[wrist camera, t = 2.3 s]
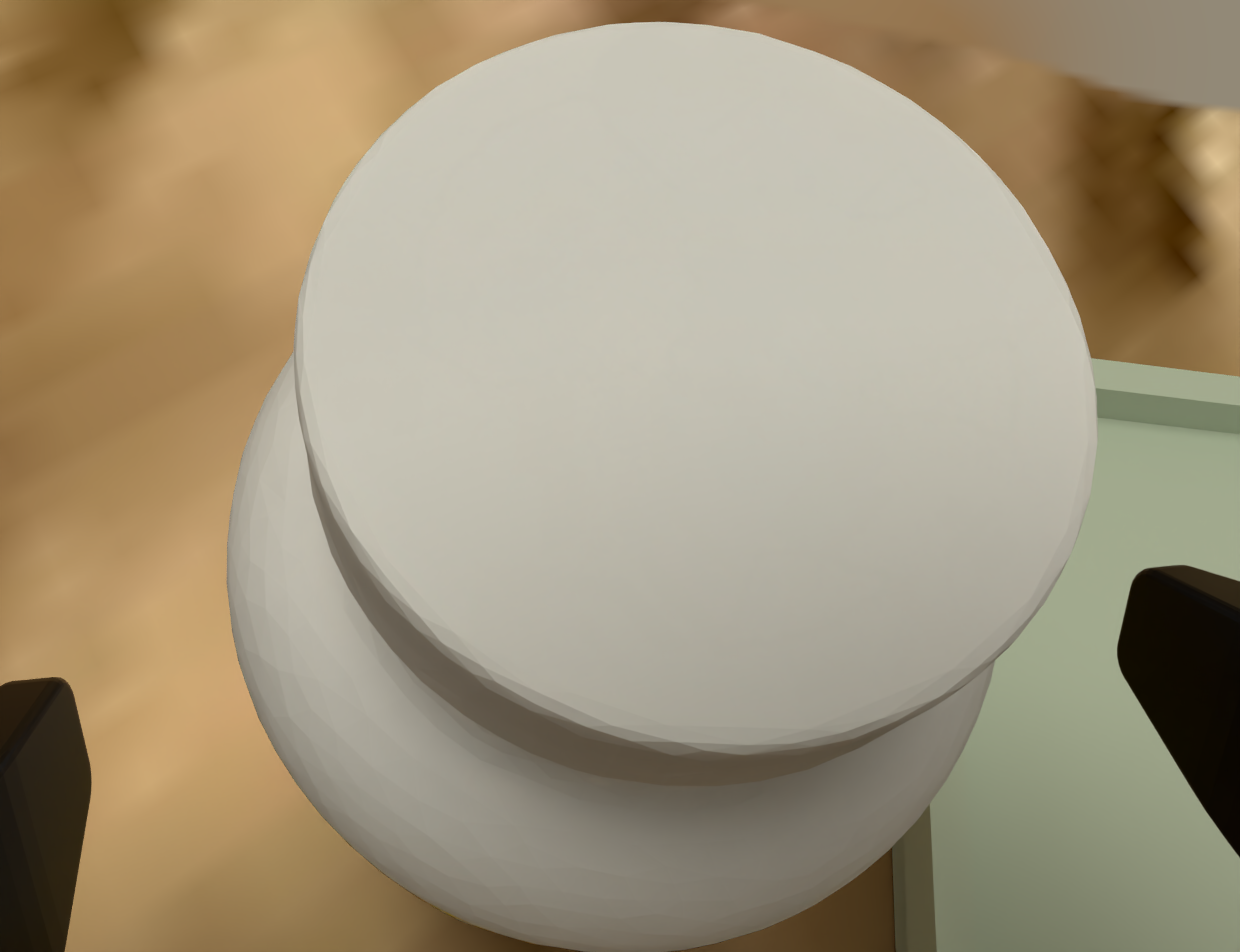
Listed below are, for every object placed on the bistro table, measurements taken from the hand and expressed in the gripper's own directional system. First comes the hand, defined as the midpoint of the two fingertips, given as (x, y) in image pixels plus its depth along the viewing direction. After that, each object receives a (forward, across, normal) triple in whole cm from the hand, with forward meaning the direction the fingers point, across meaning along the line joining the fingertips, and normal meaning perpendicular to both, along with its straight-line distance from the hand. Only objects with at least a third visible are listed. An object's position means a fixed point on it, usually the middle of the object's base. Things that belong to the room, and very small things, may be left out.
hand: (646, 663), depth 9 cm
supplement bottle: (+7, 0, +6) cm, 9 cm away
